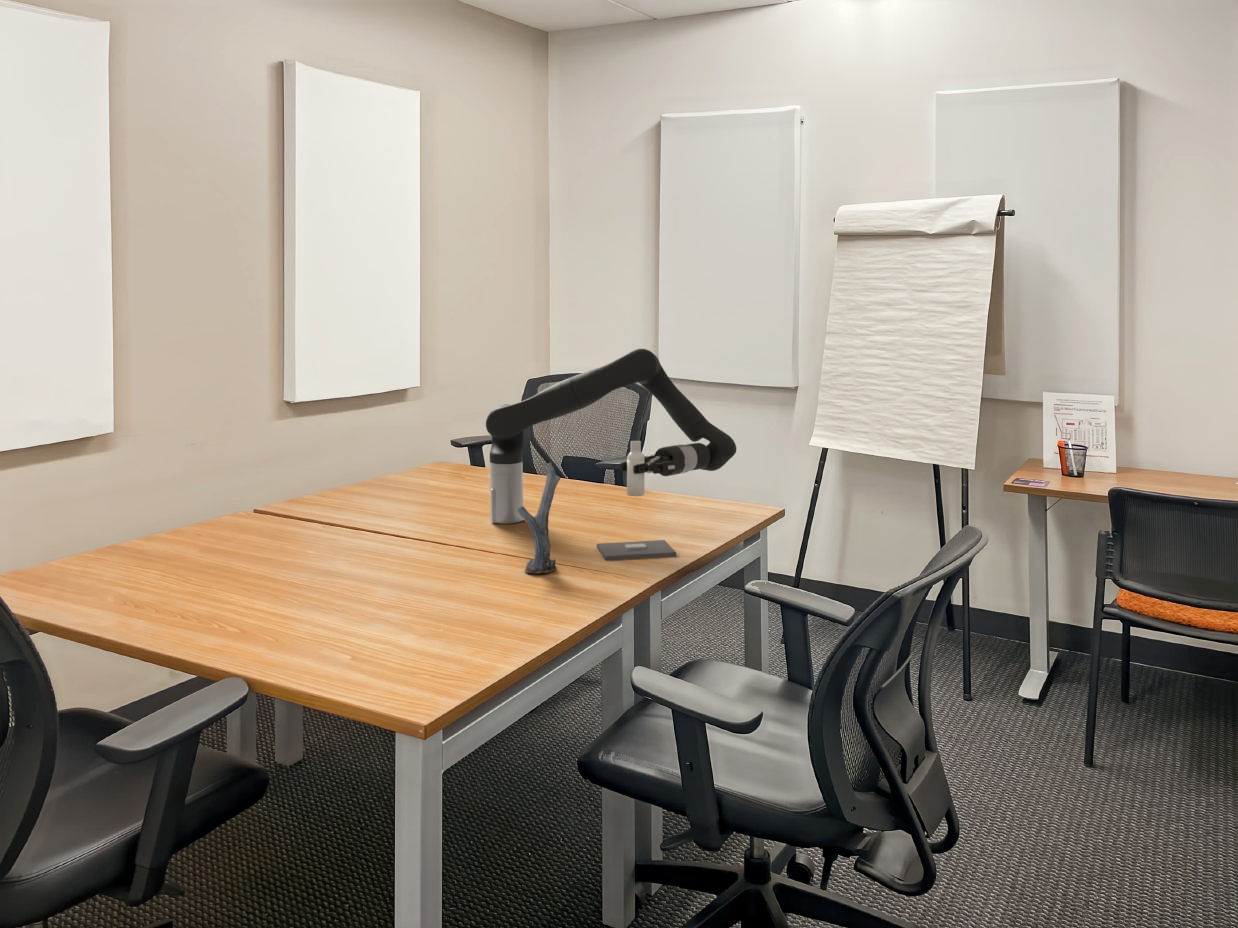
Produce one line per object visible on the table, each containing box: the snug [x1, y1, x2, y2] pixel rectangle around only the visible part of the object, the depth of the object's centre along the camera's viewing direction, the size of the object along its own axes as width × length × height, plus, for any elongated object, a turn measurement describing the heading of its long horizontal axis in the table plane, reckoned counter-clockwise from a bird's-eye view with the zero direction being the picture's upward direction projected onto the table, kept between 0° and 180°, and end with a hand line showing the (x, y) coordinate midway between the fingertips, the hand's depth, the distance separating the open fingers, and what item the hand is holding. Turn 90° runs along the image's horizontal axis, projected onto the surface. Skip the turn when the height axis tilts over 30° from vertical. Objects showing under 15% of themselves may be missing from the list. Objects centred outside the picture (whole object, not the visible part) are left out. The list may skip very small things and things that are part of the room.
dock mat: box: [596, 539, 677, 561], centre depth 245 cm, size 18×12×2 cm, turn 101°
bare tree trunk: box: [518, 462, 561, 574], centre depth 229 cm, size 12×8×25 cm
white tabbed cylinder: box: [626, 440, 646, 497], centre depth 242 cm, size 4×4×14 cm
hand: (627, 468), depth 240 cm, fingers closed on white tabbed cylinder, 4 cm apart
